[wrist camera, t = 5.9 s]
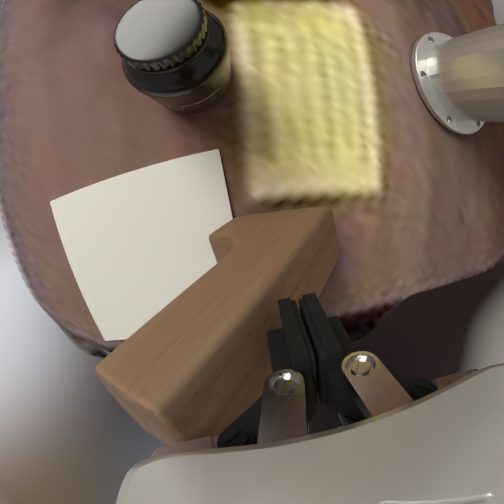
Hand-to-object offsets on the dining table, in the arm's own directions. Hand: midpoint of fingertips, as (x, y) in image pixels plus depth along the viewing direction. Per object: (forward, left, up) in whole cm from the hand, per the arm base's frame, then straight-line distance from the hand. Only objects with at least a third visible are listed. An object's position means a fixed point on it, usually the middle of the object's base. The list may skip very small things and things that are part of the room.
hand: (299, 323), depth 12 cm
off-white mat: (+13, +1, -14) cm, 19 cm away
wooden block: (-1, 0, -12) cm, 12 cm away
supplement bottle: (+4, -15, -15) cm, 21 cm away
